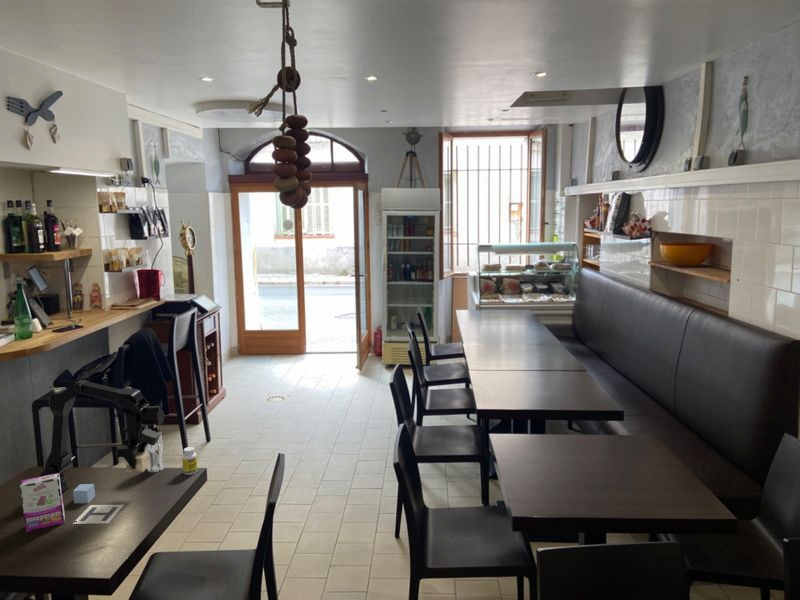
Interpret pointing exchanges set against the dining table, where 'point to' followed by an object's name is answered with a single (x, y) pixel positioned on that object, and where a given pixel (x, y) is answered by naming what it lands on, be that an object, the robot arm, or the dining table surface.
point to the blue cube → (84, 493)
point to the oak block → (139, 462)
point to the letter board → (98, 514)
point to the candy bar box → (42, 502)
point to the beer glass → (155, 455)
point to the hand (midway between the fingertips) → (137, 464)
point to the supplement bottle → (189, 461)
